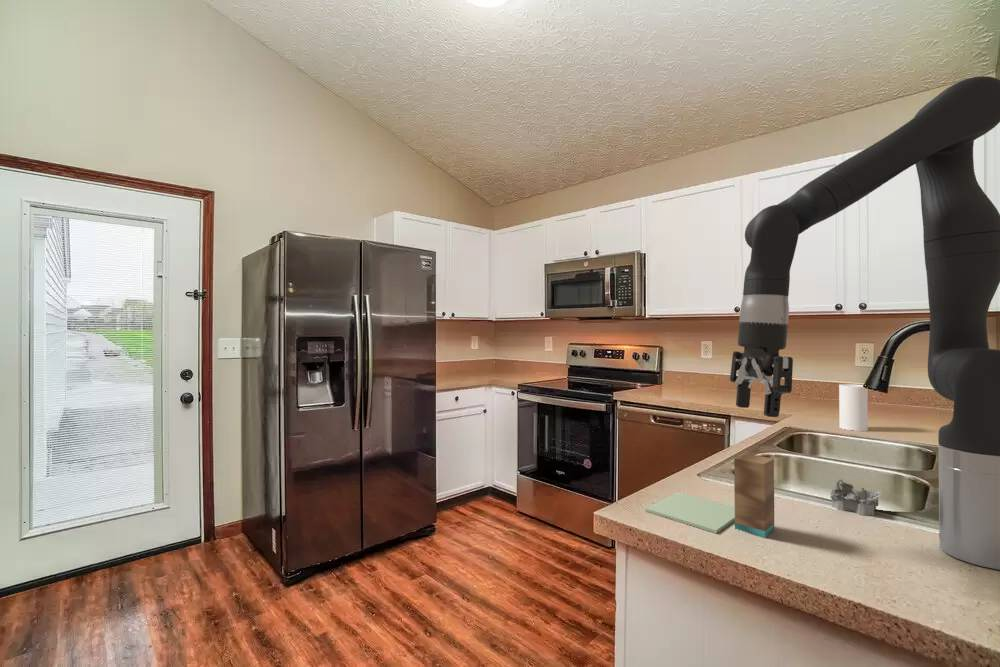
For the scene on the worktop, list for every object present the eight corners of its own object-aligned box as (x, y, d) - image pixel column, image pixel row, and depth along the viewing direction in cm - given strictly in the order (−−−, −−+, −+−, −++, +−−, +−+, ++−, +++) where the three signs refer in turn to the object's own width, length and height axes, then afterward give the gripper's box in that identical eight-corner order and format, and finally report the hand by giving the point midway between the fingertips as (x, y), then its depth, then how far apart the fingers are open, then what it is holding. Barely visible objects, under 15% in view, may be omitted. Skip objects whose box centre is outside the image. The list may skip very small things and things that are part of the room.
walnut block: (774, 529, 83) (773, 458, 83) (764, 538, 79) (764, 464, 79) (745, 521, 86) (744, 453, 86) (734, 529, 83) (734, 458, 83)
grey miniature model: (839, 496, 100) (839, 477, 100) (883, 505, 94) (883, 486, 94) (826, 508, 93) (826, 488, 93) (873, 519, 87) (872, 498, 87)
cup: (842, 425, 171) (841, 383, 171) (869, 428, 165) (869, 385, 165) (837, 428, 166) (836, 385, 166) (865, 432, 160) (865, 387, 160)
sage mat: (745, 512, 91) (745, 509, 91) (716, 533, 81) (716, 530, 81) (678, 494, 101) (678, 491, 101) (645, 511, 92) (645, 508, 92)
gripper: (812, 323, 74) (804, 421, 74) (759, 322, 88) (752, 405, 88) (767, 319, 73) (759, 419, 74) (721, 320, 88) (715, 403, 88)
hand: (755, 411), depth 81 cm, fingers open, 8 cm apart
